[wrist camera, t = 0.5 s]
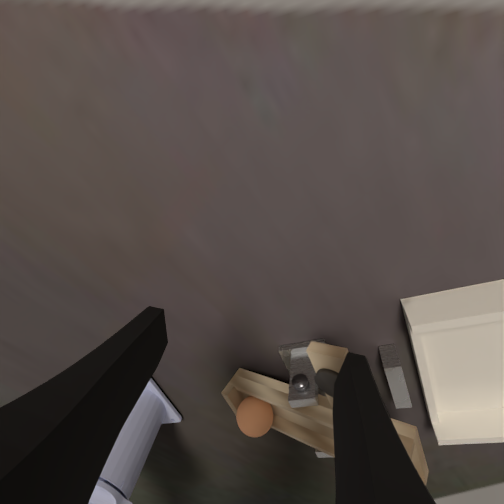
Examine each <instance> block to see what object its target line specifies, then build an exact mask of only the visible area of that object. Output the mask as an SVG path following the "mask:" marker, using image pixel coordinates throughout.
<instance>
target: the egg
mask: <svg viewBox="0 0 504 504" xmlns="http://www.w3.org/2000/svg"><path fill="white" fill-rule="evenodd" d="M236 418H237V423H238V426H239V428H240V429H241V431H242V432H243V433H244V434H246V435H247V436H250V437H260V436H262V435H264V434H265V433H267V432H268V431H269V429H270V427H271V425H272V423H273V410H272V407H271V405H270V404H269V403H268V402H265V401H263V400H260V399H258V398H256V397H253V396H249V397H247V398H245V399H244V400H243V401H242V402H241V403H240V405H239V407H238V409H237V415H236Z"/></svg>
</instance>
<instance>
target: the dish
mask: <svg viewBox="0 0 504 504" xmlns="http://www.w3.org/2000/svg"><path fill="white" fill-rule="evenodd" d="M400 300H401V304H402V308H403V313H404V317H405V321H406V325H407V329H408V333H409V337H410V342H411V346H412V350H413V354H414V358H415V362H416V366H417V371H418V375H419V379H420V383H421V387H422V391H423V395H424V400H425V404H426V408H427V412H428V415H429V418H430V421H431V424H432V427H433V430H434V433H435V435H436V438H437V441H438V444H439V445H453V444H475V443H497V442H504V279H502V280H497V281H492V282H487V283H481V284H476V285H471V286H466V287H461V288H456V289H451V290H446V291H440V292H435V293H430V294H425V295H420V296H415V297H410V298H404V299H400Z"/></svg>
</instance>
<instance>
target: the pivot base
mask: <svg viewBox="0 0 504 504" xmlns="http://www.w3.org/2000/svg"><path fill="white" fill-rule="evenodd" d="M312 341H314V342H319V343H324V344H326V341H325V339H318V340H312ZM310 343H311V341H306V342H300V343H294V344H288V345H282V346H279V350H278V352H279V354H280V356H281V358H282V360H283V362H284V364H285V366H286V368H287V370H288V372H289V374H290V381H289V395H288V402H289V404H290V406H291V408H296V407H307V406H317V405H318V394H320V395H323V396H326V394H325V392H323V391H322V390H321V389H320V388H319V387H318V386H317V384H316V383H315V380H314V377H315V375H316V372H315V370H314V367H313V365H312V363H311V361H310V358H309V356H308V354H307V352H306V350H307V348H308V346H309V344H310ZM378 347H379V351H380V355H381V359H382V363H383V367H384V370H385V374H386V377H387V380H388V384H389V387H390V390H391V393H392V397H393V400H394V403H395V406H396V409H398V408H409V407H412V405H411V401H410V397H409V394H408V390H407V386H406V383H405V379H404V375H403V371H402V368H401V364H400V361H399V358H398V355H397V351H396V348H395V345H394V344H390V345H384V346H378ZM315 453H316V455H317V457H318V458H325V457H332V456H330V455H328V454H326V453H324V452H322V451H319V450H317V449H315Z"/></svg>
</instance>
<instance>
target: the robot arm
mask: <svg viewBox="0 0 504 504" xmlns="http://www.w3.org/2000/svg"><path fill="white" fill-rule="evenodd" d="M167 343H168V340H167V332H166V324H165V316H164V309H160V308H155V307H151V306H149V307H147V308H146V309H145V310H144V311H142V312H141V313H140V314H139V315H138V316H136V317H135V318H134V319H133V320H131V321H130V322H129V323H128V324H127V325H125V326H124V327H123V328H122V329H120V330H119V331H118V332H117V333H115V334H114V335H113V336H111V337H110V338H109V339H108V340H106V341H105V342H104V343H102V344H101V345H100V346H99V347H97V348H96V349H94V350H93V351H92V352H90V353H89V354H87V355H86V356H85V357H83V358H82V359H80V360H79V361H78V362H76V363H75V364H73V365H72V366H70V367H69V368H67V369H66V370H64V371H63V372H61V373H60V374H58V375H56V376H55V377H53V378H52V379H50V380H48V381H47V382H45V383H44V384H42V385H40V386H38V387H37V388H35V389H33V390H32V391H30V392H28V393H26V394H25V395H23V396H21V397H19V398H17V399H16V400H14V401H12V402H10V403H8V404H6V405H4V406H2V407H0V504H133V503H132V502H131V501H129V498H130V496H131V494H132V491H133V489H134V487H135V484H136V482H137V480H138V477H139V475H140V473H141V471H142V468H143V466H144V464H145V461H146V459H147V457H148V454H149V452H150V450H151V447H152V445H153V443H154V440H155V438H156V436H157V433H158V431H159V429H160V426H161V424H165V423H176V422H180V421H181V419H182V417H181V415H180V414H179V413H178V411H177V410H176V409H175V408H174V406H173V405H172V404H171V403H170V401H169V400H168V399H167V397H166V396H165V395H164V394H163V392H162V391H161V390H160V388H159V387H158V386H157V385H156V383H155V382H154V381H153V380H152V378H151V377H152V375H153V373H154V372H155V370H156V368H157V366H158V364H159V362H160V360H161V357H162V355H163V353H164V350H165V348H166V346H167ZM333 434H334V455H335V476H336V504H436V503H435V501H434V500H433V498H432V496H431V495H430V493H429V491H428V489H427V488H426V486H425V484H424V482H423V481H422V479H421V477H420V475H419V474H418V472H417V470H416V468H415V466H414V464H413V463H412V461H411V459H410V457H409V455H408V453H407V451H406V449H405V447H404V445H403V443H402V441H401V439H400V437H399V435H398V433H397V431H396V429H395V427H394V425H393V422H392V420H391V418H390V416H389V413H388V411H387V409H386V407H385V405H384V402H383V400H382V397H381V395H380V393H379V390H378V388H377V385H376V383H375V380H374V377H373V375H372V372H371V369H370V366H369V364H368V361H367V358H366V357H365V356H363V355H358V354H354V353H350V352H348V353H347V355H346V357H345V360H344V362H343V364H342V367H341V369H340V371H339V374H338V376H337V378H336V381H335V383H334V395H333Z"/></svg>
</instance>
